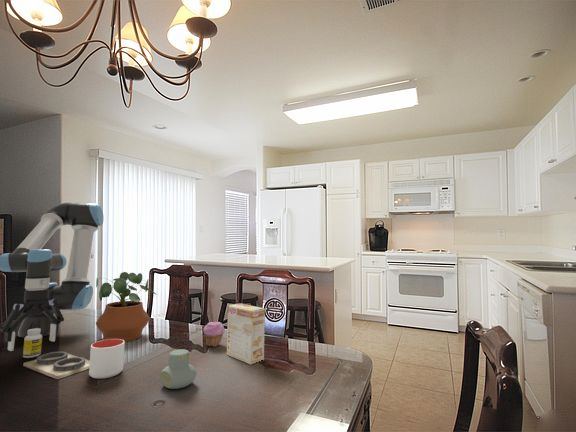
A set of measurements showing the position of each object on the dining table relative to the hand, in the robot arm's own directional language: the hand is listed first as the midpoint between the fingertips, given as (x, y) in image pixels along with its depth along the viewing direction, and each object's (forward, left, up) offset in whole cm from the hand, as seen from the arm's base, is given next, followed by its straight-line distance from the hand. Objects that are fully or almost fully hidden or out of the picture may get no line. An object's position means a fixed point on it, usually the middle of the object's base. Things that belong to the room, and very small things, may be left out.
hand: (32, 345), depth 123 cm
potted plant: (-35, +7, -4) cm, 36 cm away
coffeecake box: (-40, +71, -4) cm, 82 cm away
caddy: (0, +20, -4) cm, 20 cm away
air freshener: (-10, +67, -4) cm, 68 cm away
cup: (-4, +40, -4) cm, 40 cm away
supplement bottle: (0, 0, -4) cm, 4 cm away
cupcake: (-45, +51, -4) cm, 68 cm away
